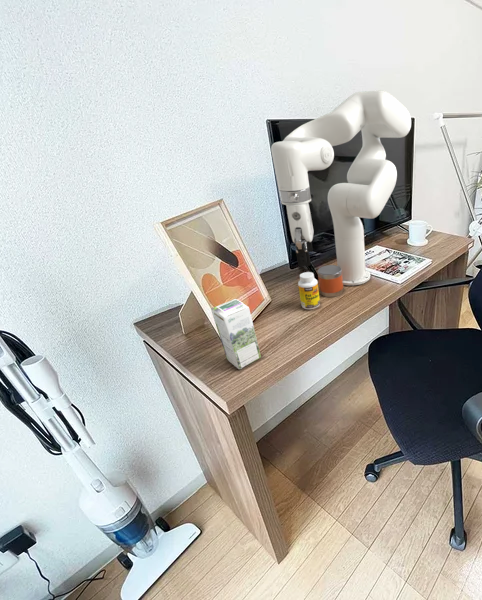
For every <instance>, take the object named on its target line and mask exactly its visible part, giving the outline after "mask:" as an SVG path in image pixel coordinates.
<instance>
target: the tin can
mask: <svg viewBox="0 0 482 600" xmlns="http://www.w3.org/2000/svg"><path fill="white" fill-rule="evenodd" d="M317 278H318V288H319V294H320V295H321V296H323V297H325V298H334V297H338V296H340V295H342V294H343V293H344V285H343V278H342V269H341V268H340V267H339V266H338V265H335V264H327V265H324V266H321V267H319V268H318V269H317Z"/></svg>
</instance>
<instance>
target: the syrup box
mask: <svg viewBox="0 0 482 600" xmlns="http://www.w3.org/2000/svg"><path fill="white" fill-rule="evenodd" d="M210 311H211V314H212V318H213V320H214V323H215V326H216V329H217V332H218V333H217V334H218V336H219V339H220V341H221V345H222V348H223V351H224V352H223V353H224V354H225V358H226V360H227V361H228V362H229V363H230V364H231V365H233V366H234V367H235V368H236V369H238V370H239V371H240V370H242V369H244V368H246V367H247V366H249V365H251V364H253V363H254V362H256V361H258V360H260V359H261V358H262V355H261V351H260V347H259V344H258V337H257V335H256V330H255V326H254V322H253V319H252V318H253V317H252V314H251V310H250V307H249V306H248V305H246V304H245V303H244V302H243V301H241V300H239V299H237V298H233V299H231V300H229V301H226V302H224V303H221V304H219V305H216V306H214V307H212V308H210Z"/></svg>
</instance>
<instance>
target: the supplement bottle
mask: <svg viewBox="0 0 482 600" xmlns="http://www.w3.org/2000/svg"><path fill="white" fill-rule="evenodd" d="M297 286H298V293H299V298H300V299H299V300H300V305H301V307H302V309H305V310H310V311H311V310H315V309H318V307H320V305H321V298H320V289H319V281H318V280H317V279H316V278H315V274H314V272H312V271H306V272H305V271H304V272H302V273H300V274H299V280H298V281H297Z"/></svg>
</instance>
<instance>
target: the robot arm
mask: <svg viewBox="0 0 482 600" xmlns="http://www.w3.org/2000/svg"><path fill="white" fill-rule="evenodd" d="M411 128H412V117H411V114H410V112H409V110H408V108H407V107H406V106H404V105H403V103H402V102H401V101H399V100H398V99H397V98H396V97H395V96H394V95H392V94H391V93H390V92H388V91H386V90H381V89H380V90H368V91H367V90H365V91H364V90H363V91H357V92H353V93H351V95H350V96H348V97H347V98H346V99H345V100H343V102H341V103H340V104H338V106H336V107H335V108H334V109H333V110H331V111H330V112H327V113H326V114H323V115H320V116H318V117H316V118H315V119H311V120H310V121H308V122H305V123H303V124H301V125H300V126H298V127H297V128H295V129H294V130H293V131H291V132H290V133H289V134H288V135H286V136H285V137H284V139H283V140H282V141H276V142H274V143H272V144H271V147H270V151H271V156H272V162H273V168H274V173H275V177H276V183H277V187H278V193H279V197H280V203H281V204H282V205H284V206H286V214H287V219H288V226H289V231H290V236H291V240H292V242H293V243H294V244H295V255H296V261H297V266H298V267H309V266H311V264H312V263H311V257H310V253H311V252H313V250H314V248H313V242H312V241H313V239H314V231H315V230H314V226H313V220H312V214H311V213H312V212H311V209H310V204H309V203H310V202H312V195H311V194H312V193H311V188H310V181H309V174H308V172H310V171H324V170H326V169H328V168H329V167H330V166H331V165H332V164H333V162H334V158H335V151H334V148H333V147H335V146H340V145H343V144H347V143H348V142H350V141H351V140H352V139H353V138H354V137H355V136H356V135H357V134H358V133H359V132H360V131H361V141H362V145H361V146H362V147H361V148H360V150H359V152H358V153H357V155H356V157H355V158H354V160H353V161H352V163H351V165H350V167H349V169H348V171H347V173H346V180H347V182H339V183H336V184H334V185H332V186H331V187H330V189H329V190H328V192H327V205H328V209H329V211H330V214H331V219H332V225H333V232H334V243H335V244H334V245H335V254H336V264H337V265H336V266H339V267H340V268H341V269H342V278H343V286H349V287H351V286H359V285H364V284H366V283H367V282H368V281H370V279H371V272H370V271H369V270H367V269H366V250H365V231H364V230H365V229H364V225H363V221H362V220H361V218H362V219H370V220H371V219H375V218H377V217H378V216H379V215H380V214H381V213H382V211H383V210H384V208H385V206H386V204H387V202H388V201H389V199H390V197H391V195H392V193H393V191H394V189H395V187H396V183H397V181H398V179H397V178H398V171H397V167H396V165H395V164H394V163H393V162H392V161H390V160H388V159H387V154H386V149H385V148H384V147H385V146H384V145H383V144H382V141H381V138H383V139H385V138H389V139H399V138H404V137H406V136H407V135H408V134H409V133H410V130H411Z"/></svg>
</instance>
